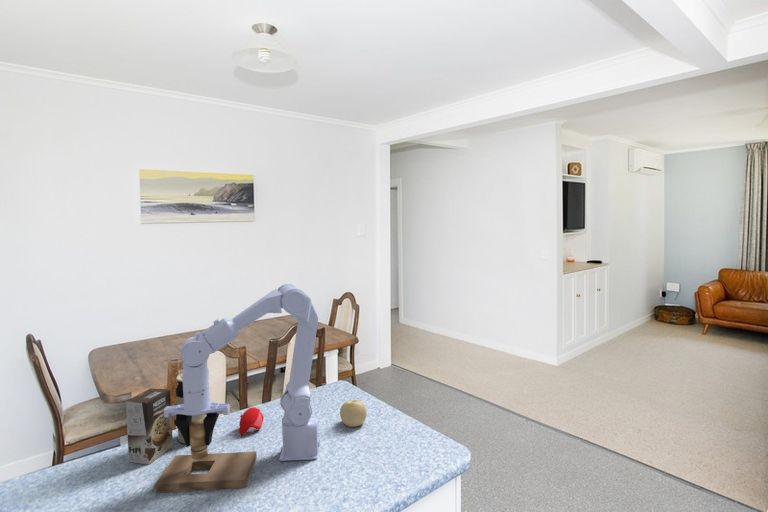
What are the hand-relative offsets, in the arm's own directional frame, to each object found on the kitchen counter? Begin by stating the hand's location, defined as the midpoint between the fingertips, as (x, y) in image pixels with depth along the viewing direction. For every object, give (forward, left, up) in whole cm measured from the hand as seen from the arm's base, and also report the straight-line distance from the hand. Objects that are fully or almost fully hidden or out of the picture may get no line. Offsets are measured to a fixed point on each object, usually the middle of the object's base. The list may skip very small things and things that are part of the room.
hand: (198, 443), depth 104 cm
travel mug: (+8, -19, -8) cm, 22 cm away
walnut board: (-2, 0, -8) cm, 8 cm away
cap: (-7, -22, -8) cm, 24 cm away
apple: (-37, -23, -8) cm, 44 cm away
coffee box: (+16, -11, -8) cm, 21 cm away
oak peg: (0, 0, -3) cm, 3 cm away
